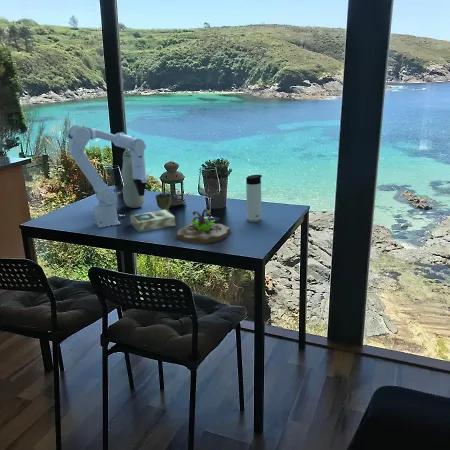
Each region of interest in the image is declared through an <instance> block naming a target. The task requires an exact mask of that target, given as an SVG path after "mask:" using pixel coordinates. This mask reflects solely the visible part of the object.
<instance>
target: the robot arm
mask: <svg viewBox="0 0 450 450" xmlns="http://www.w3.org/2000/svg"><path fill="white" fill-rule="evenodd" d="M66 137H67V140H68V141H67V142H68V152H69V154H70V156H71V158H73V160H74V161H75V163H76V165H77V166H78V167H79V169H80V170H81V172H82V174H83V175H84V176H85V177H86V179H87V180H88V182H89V183H90V184H91V186H92V188H93V191H94V193H95V197H96V199H97V200H98V204H97V205H94V206H93V213H94V224H95V225H96V226H97V228H100V229H101V228H106V226H107V227H111V225H112V226H119V225H121V222H120V221H119V219H118V211H117V200H118V195H117V193H116V192H115V191H113V190H111V188H110V187H109V186H108V185H107V184H106V182H104V180H103V178H102V177H101V175H100V174H99V172H98V171H97V169H96V168H95V166H94V165H93V164H92V163H91V161H90V159H89V158H88V157H87V154H85V152H84V151H85V148H86V146H87V144H88V143H89V142H90V140H94V139H97V138H98V139H101V140H104V141H109V142H111V143H113V144H114V146H115V147H119V148H122V149H125V150H131V160H132V170H133V178H135V179H136V180H133V182H134V184H135V186H136V188H137V191H138V194H139V196H143V195H144V192H145V190H146V187H147V183H148V179H147V178H148V177H149V176H150V174H149V173H147V172H146V161H145V150H146V148H147V144H145V141H144V139H141V138H138V137H135V136H134V135H128V134H125V132H123V131H120V132H116V133H115V134H113V133H110V132H107V131H104V130H101V129H98V128H94V127H91V126H90V127H89V126H80V125H78V124H75V125H72V126H70V128H69V129H68V132H67V136H66Z"/></svg>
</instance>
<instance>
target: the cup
mask: <svg viewBox="0 0 450 450" xmlns="http://www.w3.org/2000/svg"><path fill="white" fill-rule="evenodd" d="M154 197H155V200H156V205H157V207H158V208H159V209H160V210H167V211H168V212H169V210H170V209H169V208H170V207H171V205H172V197H173V196H172V194H171V193H170V192H166V193H165V194H164V193H159V194H158V193H157V194H156V195H154Z"/></svg>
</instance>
